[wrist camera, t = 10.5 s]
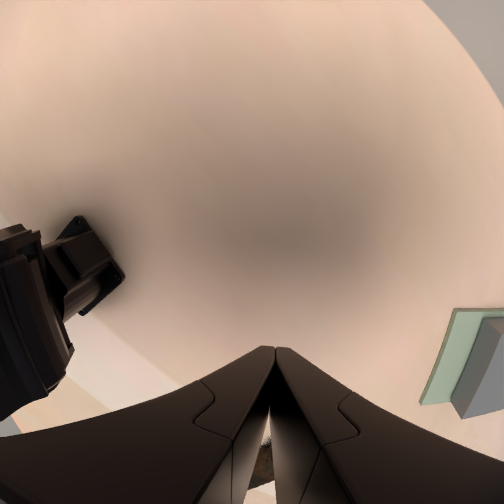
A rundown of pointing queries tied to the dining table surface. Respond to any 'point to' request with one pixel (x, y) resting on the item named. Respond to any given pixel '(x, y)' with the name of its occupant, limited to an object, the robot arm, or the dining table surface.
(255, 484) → the hand tool
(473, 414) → the gray rectangular block
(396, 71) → the dining table surface
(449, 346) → the mat
